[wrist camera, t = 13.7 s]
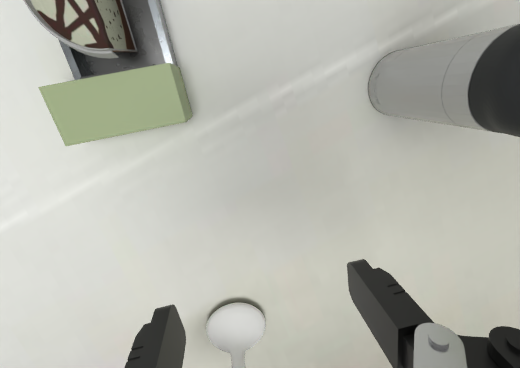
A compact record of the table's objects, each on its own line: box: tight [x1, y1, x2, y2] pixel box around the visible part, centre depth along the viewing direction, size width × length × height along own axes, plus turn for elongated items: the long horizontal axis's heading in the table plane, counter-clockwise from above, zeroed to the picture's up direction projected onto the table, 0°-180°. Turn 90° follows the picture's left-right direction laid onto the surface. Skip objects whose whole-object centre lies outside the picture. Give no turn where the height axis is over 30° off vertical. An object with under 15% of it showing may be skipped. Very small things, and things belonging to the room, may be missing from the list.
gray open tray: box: [59, 0, 178, 80], centre depth 30 cm, size 12×15×4 cm
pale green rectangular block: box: [39, 63, 192, 146], centre depth 32 cm, size 14×7×7 cm, turn 100°
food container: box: [24, 0, 138, 59], centre depth 27 cm, size 12×6×10 cm, turn 10°
